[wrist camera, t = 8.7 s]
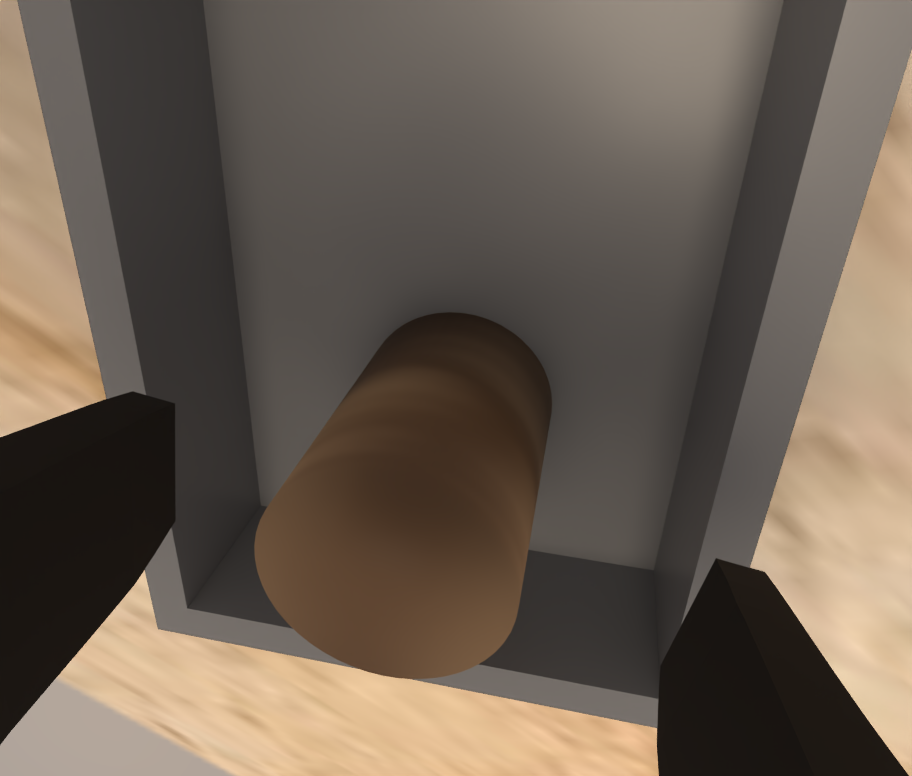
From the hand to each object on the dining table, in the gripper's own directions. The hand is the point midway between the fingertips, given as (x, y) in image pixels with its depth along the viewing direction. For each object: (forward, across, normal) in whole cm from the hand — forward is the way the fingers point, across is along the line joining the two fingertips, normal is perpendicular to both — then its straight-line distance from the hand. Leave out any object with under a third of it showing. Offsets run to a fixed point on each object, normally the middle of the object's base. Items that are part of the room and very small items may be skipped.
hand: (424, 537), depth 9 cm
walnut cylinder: (+9, +1, +3) cm, 10 cm away
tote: (+10, +1, 0) cm, 10 cm away
